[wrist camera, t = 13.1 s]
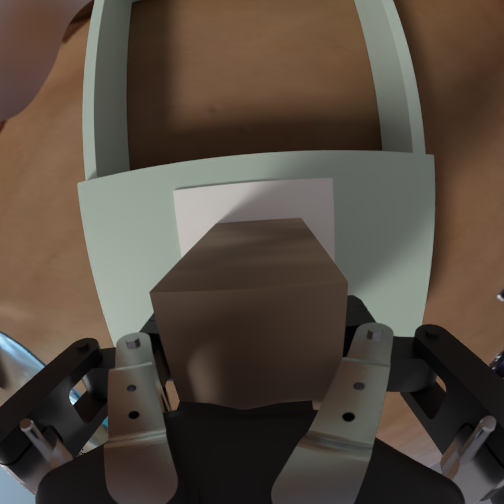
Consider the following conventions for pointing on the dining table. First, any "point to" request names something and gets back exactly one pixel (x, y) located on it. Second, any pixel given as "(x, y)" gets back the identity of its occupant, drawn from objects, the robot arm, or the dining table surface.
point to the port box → (260, 187)
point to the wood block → (253, 316)
